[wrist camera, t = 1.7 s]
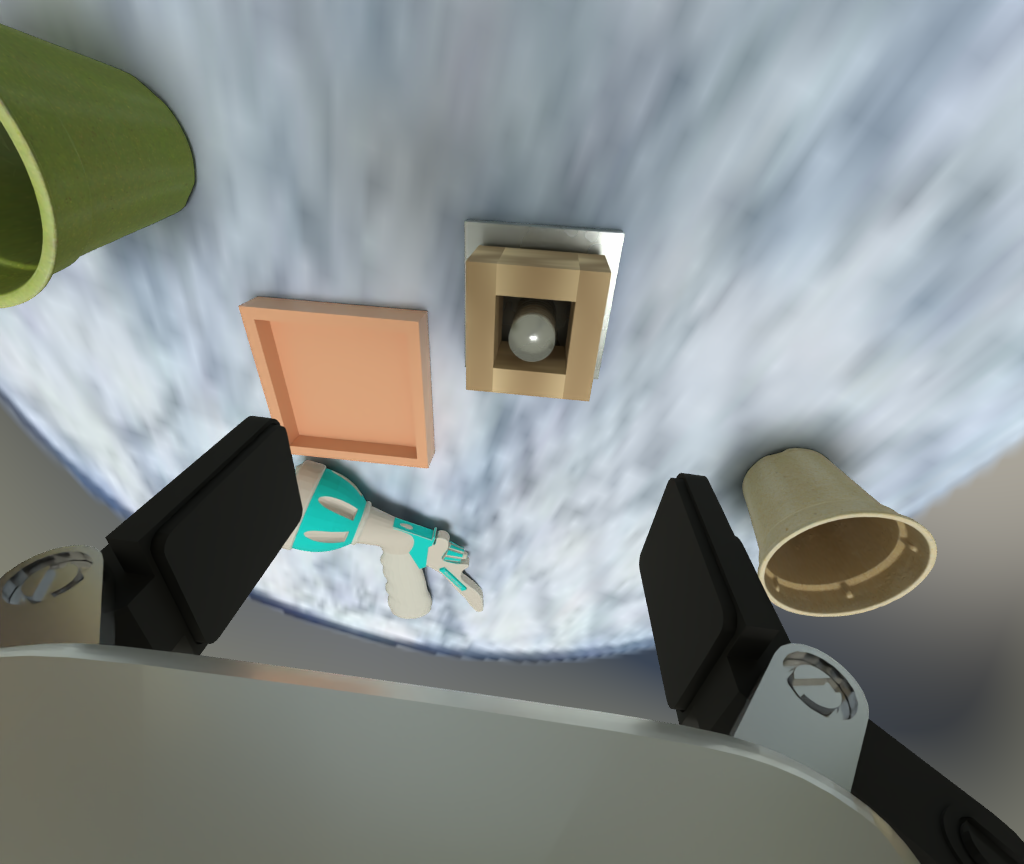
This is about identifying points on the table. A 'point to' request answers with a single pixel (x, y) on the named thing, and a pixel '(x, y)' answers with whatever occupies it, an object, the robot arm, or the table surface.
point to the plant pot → (77, 160)
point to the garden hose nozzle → (378, 540)
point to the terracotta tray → (345, 378)
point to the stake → (543, 320)
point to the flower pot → (830, 538)
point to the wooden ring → (540, 279)
